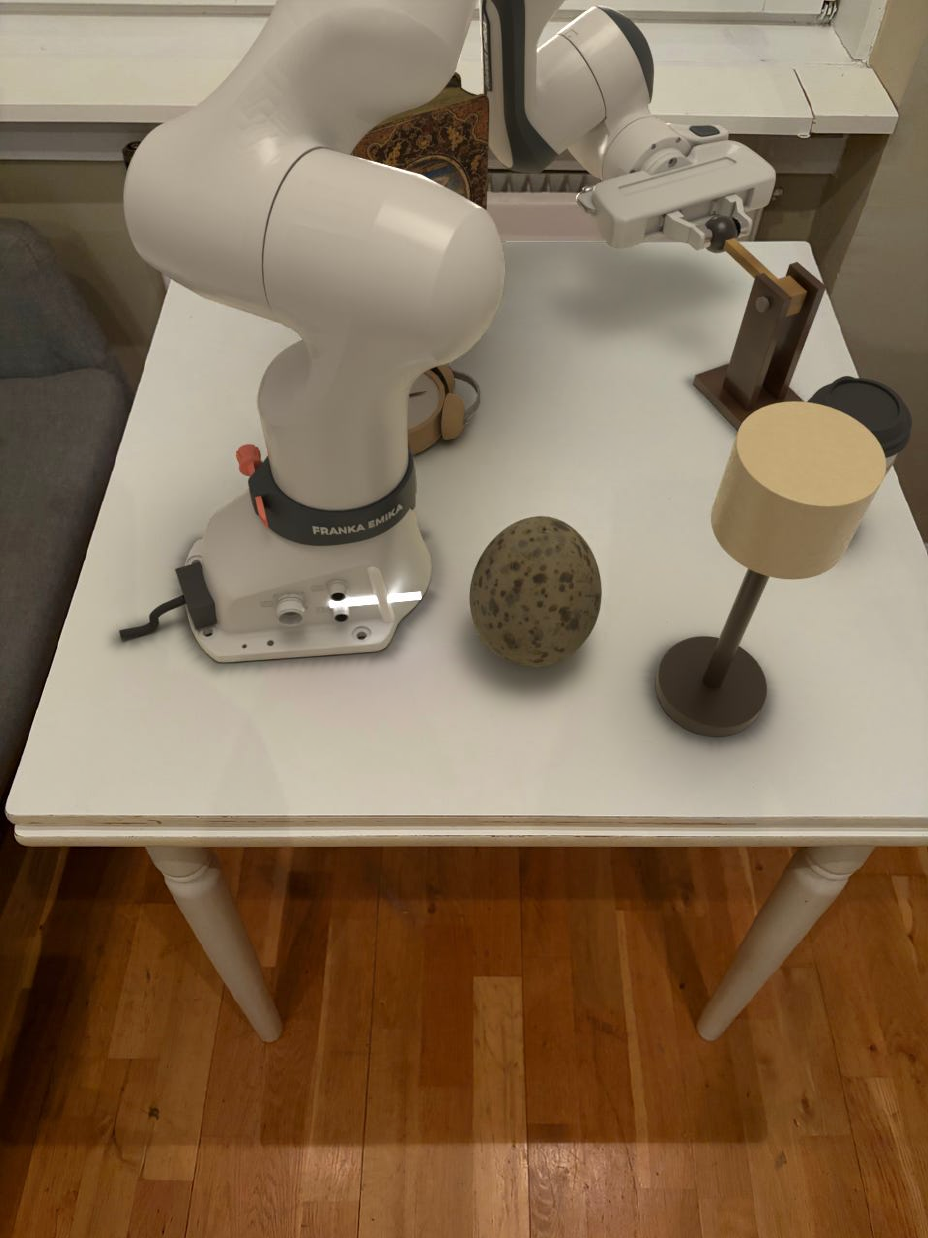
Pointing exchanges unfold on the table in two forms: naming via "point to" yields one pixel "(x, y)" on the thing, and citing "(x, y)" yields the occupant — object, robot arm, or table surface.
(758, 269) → the lever
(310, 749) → the table surface
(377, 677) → the table surface
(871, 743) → the table surface
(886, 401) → the coffee cup
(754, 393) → the switch block
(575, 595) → the decorative egg
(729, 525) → the lamp
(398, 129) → the book
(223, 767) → the table surface
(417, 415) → the alarm clock
